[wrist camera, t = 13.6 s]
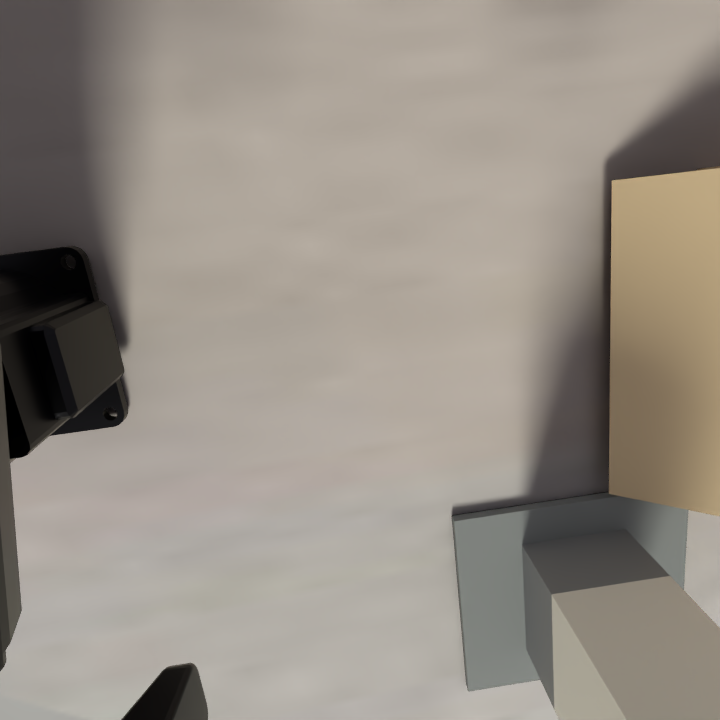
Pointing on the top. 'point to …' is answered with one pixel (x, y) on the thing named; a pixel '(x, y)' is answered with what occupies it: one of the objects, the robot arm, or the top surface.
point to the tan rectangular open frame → (666, 340)
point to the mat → (505, 569)
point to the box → (617, 633)
